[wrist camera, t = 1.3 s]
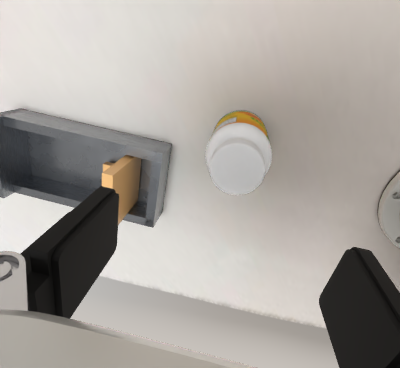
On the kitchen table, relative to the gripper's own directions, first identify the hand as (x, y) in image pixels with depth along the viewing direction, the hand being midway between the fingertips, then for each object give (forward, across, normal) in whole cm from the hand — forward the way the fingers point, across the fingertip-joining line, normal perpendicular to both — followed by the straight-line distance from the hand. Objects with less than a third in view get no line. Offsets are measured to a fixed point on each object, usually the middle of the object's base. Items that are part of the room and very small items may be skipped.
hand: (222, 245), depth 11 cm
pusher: (+18, +11, +7) cm, 22 cm away
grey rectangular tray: (+18, +15, +7) cm, 25 cm away
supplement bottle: (+18, -1, 0) cm, 18 cm away
